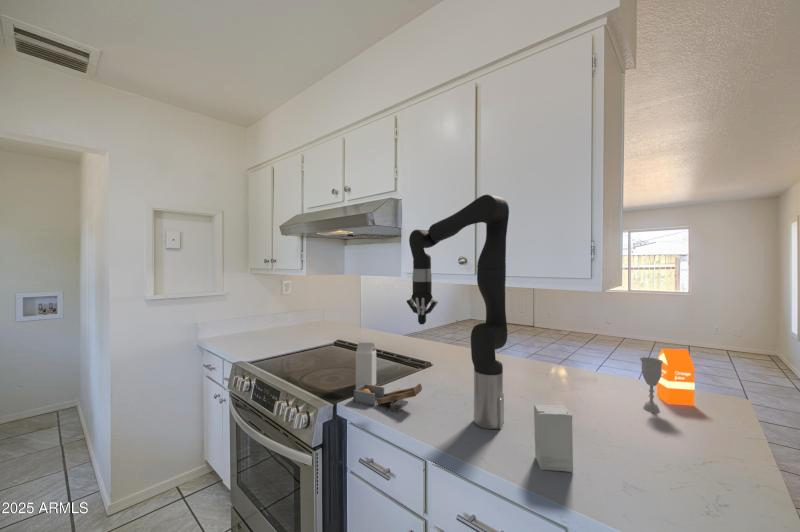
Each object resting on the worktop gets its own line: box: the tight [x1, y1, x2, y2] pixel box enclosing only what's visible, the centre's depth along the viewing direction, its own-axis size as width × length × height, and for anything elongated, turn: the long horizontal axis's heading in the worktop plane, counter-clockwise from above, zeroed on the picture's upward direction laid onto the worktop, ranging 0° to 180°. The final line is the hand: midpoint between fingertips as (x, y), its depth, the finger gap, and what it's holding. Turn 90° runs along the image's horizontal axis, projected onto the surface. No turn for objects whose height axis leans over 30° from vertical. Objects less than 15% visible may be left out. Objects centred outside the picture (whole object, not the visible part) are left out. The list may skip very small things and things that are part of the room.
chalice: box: [639, 356, 663, 414], centre depth 120 cm, size 7×7×18 cm
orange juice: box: [656, 348, 695, 407], centre depth 129 cm, size 8×9×20 cm
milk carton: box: [355, 341, 377, 389], centre depth 143 cm, size 7×7×19 cm
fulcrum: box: [384, 399, 409, 413], centre depth 123 cm, size 5×9×3 cm, turn 154°
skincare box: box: [533, 404, 574, 473], centre depth 87 cm, size 8×6×15 cm
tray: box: [352, 384, 385, 407], centre depth 128 cm, size 9×8×4 cm
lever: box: [377, 383, 423, 405], centre depth 125 cm, size 17×12×2 cm
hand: (421, 324), depth 131 cm, fingers closed
